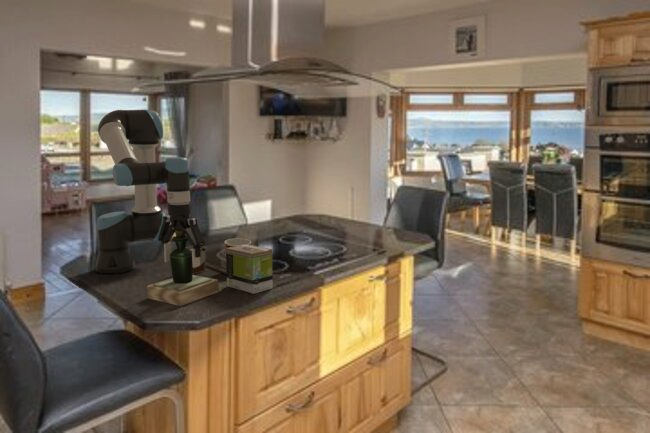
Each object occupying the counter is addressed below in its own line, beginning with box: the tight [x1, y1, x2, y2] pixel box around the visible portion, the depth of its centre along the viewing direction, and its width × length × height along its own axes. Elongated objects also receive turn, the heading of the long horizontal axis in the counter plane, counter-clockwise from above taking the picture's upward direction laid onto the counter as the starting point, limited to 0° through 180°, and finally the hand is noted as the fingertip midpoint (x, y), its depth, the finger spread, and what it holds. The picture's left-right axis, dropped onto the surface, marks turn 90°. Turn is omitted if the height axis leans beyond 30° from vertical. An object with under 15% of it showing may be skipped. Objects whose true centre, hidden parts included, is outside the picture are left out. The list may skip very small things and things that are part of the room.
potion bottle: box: [169, 230, 194, 284], centre depth 190 cm, size 8×8×18 cm
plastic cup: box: [224, 237, 252, 249], centre depth 224 cm, size 11×11×12 cm
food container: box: [185, 245, 208, 275], centre depth 221 cm, size 12×6×10 cm, turn 141°
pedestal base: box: [146, 274, 220, 307], centre depth 192 cm, size 16×18×5 cm
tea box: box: [225, 244, 274, 294], centre depth 199 cm, size 15×10×15 cm
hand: (182, 263), depth 190 cm, fingers open, 13 cm apart
